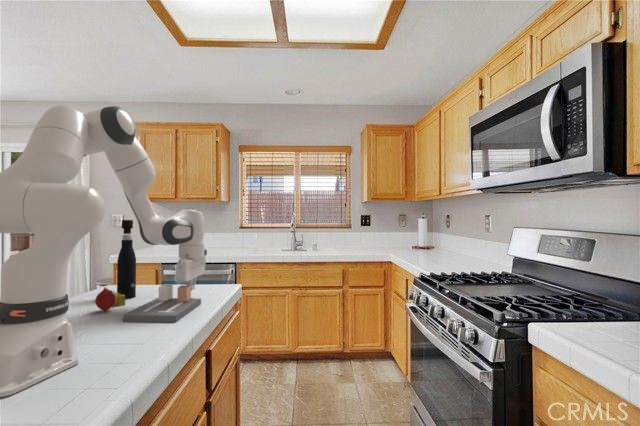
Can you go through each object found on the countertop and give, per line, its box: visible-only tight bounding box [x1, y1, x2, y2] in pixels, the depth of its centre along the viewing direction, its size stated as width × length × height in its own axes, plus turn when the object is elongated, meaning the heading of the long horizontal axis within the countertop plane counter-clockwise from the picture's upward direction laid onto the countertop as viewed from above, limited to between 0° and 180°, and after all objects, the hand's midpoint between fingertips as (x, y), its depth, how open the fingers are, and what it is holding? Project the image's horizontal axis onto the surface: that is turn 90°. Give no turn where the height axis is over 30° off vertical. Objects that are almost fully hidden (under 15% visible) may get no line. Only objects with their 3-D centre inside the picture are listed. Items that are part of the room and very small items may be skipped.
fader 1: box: [158, 284, 174, 301], centre depth 127 cm, size 4×3×5 cm
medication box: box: [109, 289, 126, 307], centre depth 130 cm, size 12×3×4 cm, turn 52°
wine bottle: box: [116, 219, 137, 300], centre depth 139 cm, size 6×6×30 cm
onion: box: [94, 286, 116, 312], centre depth 119 cm, size 6×6×8 cm
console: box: [122, 297, 202, 323], centre depth 119 cm, size 22×16×2 cm
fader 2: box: [176, 285, 192, 302], centre depth 126 cm, size 4×3×5 cm
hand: (190, 290), depth 132 cm, fingers closed
